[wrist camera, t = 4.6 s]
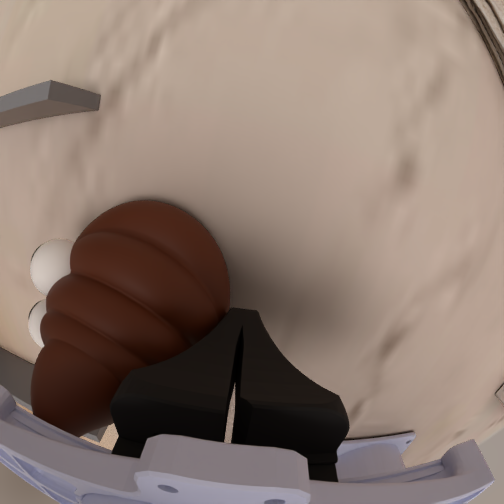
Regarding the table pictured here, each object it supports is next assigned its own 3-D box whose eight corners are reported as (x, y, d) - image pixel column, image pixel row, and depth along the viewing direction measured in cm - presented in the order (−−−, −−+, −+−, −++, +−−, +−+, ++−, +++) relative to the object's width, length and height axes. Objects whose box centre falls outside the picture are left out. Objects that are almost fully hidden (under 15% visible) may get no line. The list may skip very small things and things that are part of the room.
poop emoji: (189, 384, 16) (150, 518, 7) (70, 321, 15) (-18, 416, 6) (266, 244, 13) (270, 410, 4) (106, 167, 12) (-63, 199, 3)
